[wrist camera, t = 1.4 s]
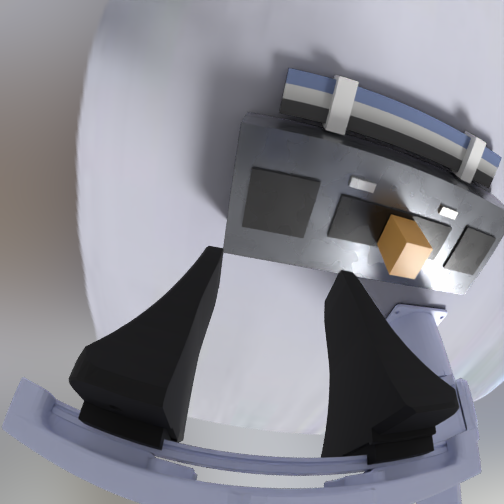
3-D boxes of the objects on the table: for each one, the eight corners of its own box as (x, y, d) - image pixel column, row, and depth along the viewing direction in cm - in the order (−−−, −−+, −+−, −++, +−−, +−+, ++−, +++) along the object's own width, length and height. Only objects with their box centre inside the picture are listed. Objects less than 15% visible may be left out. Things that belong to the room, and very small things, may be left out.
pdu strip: (450, 270, 23) (464, 296, 20) (230, 225, 22) (222, 254, 19) (493, 194, 17) (515, 216, 14) (247, 112, 17) (240, 123, 14)
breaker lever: (400, 249, 18) (414, 279, 15) (376, 244, 18) (389, 274, 15) (415, 221, 16) (433, 249, 14) (391, 214, 16) (407, 242, 14)
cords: (481, 185, 17) (491, 194, 16) (279, 114, 17) (278, 119, 15) (496, 150, 15) (507, 157, 14) (289, 63, 14) (290, 63, 13)
